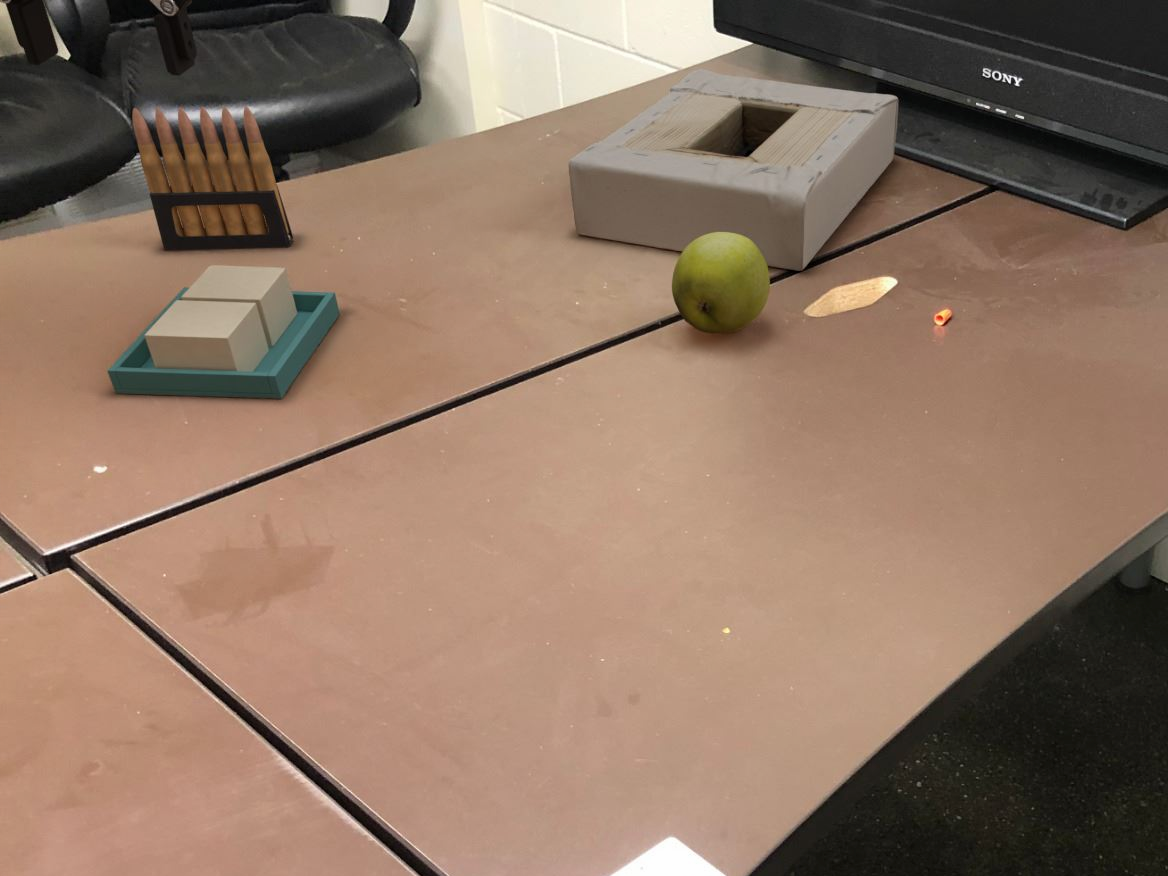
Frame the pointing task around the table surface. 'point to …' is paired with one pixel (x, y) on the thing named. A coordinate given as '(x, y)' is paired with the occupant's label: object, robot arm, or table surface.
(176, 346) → the pad
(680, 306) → the apple
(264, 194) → the ammunition clip
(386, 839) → the table surface
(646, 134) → the hollow concrete block
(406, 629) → the table surface
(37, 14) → the robot arm
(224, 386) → the tray
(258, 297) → the beige rectangular block
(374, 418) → the table surface
